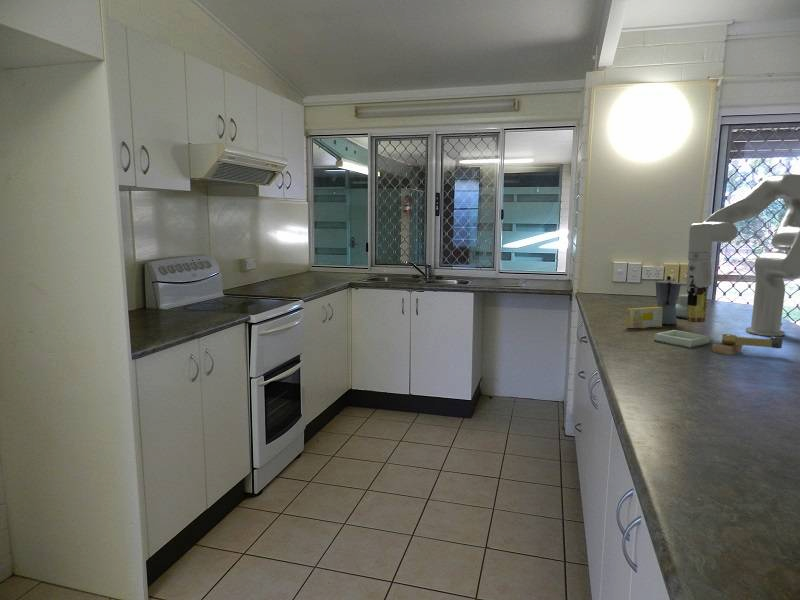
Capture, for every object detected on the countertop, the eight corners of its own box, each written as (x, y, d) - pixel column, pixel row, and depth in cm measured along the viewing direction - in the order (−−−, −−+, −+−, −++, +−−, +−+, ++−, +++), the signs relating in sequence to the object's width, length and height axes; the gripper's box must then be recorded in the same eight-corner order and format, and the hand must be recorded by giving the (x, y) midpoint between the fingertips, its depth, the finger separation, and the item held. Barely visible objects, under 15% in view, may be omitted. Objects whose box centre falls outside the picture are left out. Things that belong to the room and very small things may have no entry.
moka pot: (675, 321, 233) (679, 275, 230) (680, 327, 219) (685, 278, 216) (650, 319, 236) (654, 274, 234) (655, 326, 222) (658, 277, 219)
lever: (722, 343, 178) (723, 334, 178) (721, 341, 182) (722, 331, 182) (782, 349, 172) (784, 339, 171) (780, 346, 175) (781, 336, 175)
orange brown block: (723, 348, 184) (724, 340, 184) (741, 351, 179) (742, 344, 179) (711, 351, 179) (712, 343, 179) (729, 355, 175) (730, 347, 174)
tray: (673, 336, 202) (673, 329, 202) (709, 343, 192) (710, 336, 191) (654, 340, 195) (654, 333, 195) (690, 347, 184) (691, 340, 184)
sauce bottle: (707, 323, 201) (710, 269, 198) (689, 323, 202) (692, 270, 199) (701, 319, 207) (704, 268, 204) (684, 319, 208) (686, 268, 205)
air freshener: (680, 319, 239) (682, 296, 237) (667, 316, 247) (669, 294, 245) (701, 318, 241) (703, 296, 240) (687, 315, 249) (689, 293, 248)
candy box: (658, 326, 222) (659, 306, 221) (662, 327, 220) (663, 307, 219) (625, 328, 217) (627, 308, 216) (629, 329, 215) (630, 309, 214)
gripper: (698, 258, 193) (695, 308, 196) (721, 255, 203) (718, 303, 205) (677, 257, 199) (674, 305, 202) (700, 254, 209) (698, 300, 212)
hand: (696, 303), depth 204 cm, fingers closed on sauce bottle, 6 cm apart
